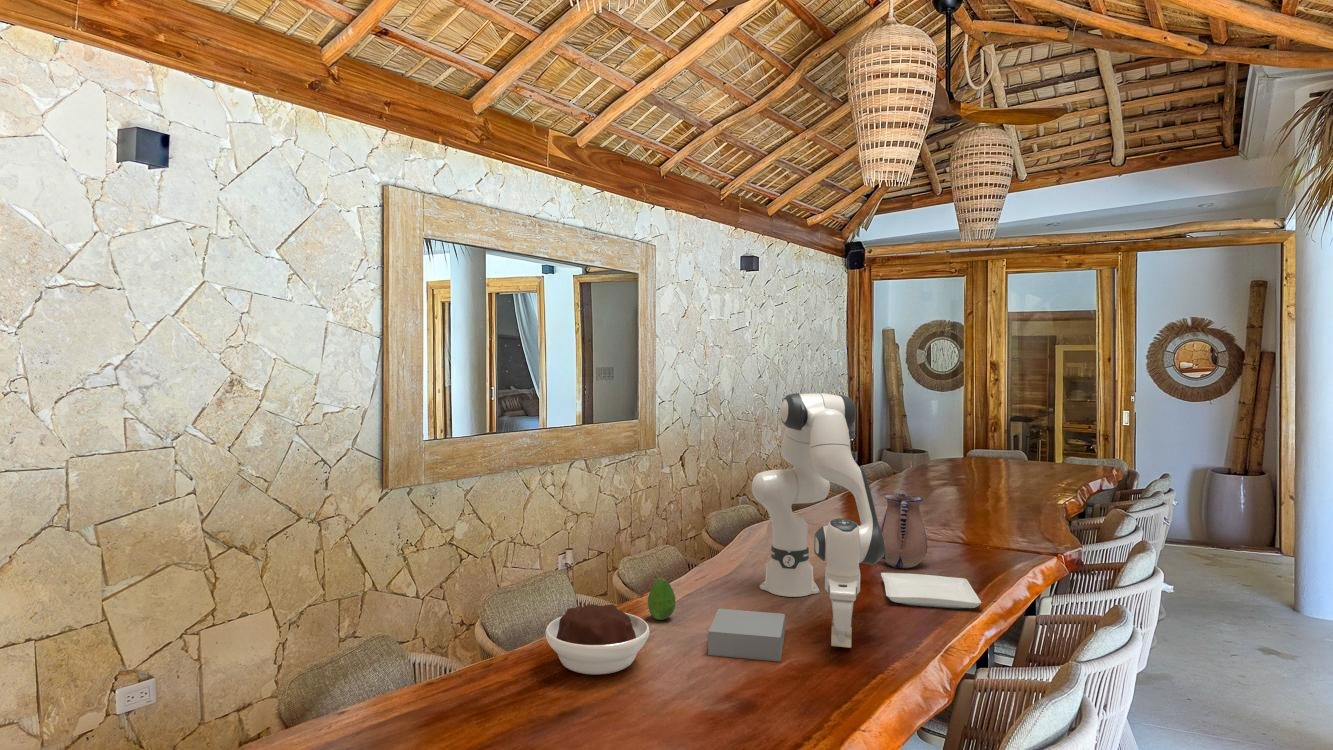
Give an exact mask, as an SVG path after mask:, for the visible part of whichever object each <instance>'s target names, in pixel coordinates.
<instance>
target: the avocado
mask: <svg viewBox="0 0 1333 750" xmlns="http://www.w3.org/2000/svg"><path fill="white" fill-rule="evenodd" d="M647 607H648V611H649V614H650V615H651V617H653V618H654V619H655V620H656V621H657V620H658V621H664V620H667V619H668V618H670V617H671V616H672V615H673V613H674V610H675V609H676V595H675V592H674V589H673V588H672V585H671V583H670V582H669V581H668V580H667V579H666V578H664V577H659V578H657V579H656V580H655V581H654V582H653V584H652V585H651V588H650V591H649V594H648V597H647Z"/></svg>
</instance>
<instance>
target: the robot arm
mask: <svg viewBox="0 0 1333 750" xmlns="http://www.w3.org/2000/svg"><path fill="white" fill-rule="evenodd" d="M856 409H857V407H856V404H855V402H854V401H853V399H852V398H851V397H849V396H846V395H843V394H839V395H836V394H832V393H822V392H819V393H798V392H796V393H790V394H787V395H785V397H784V398H783V399H782V401H781V405H780V411H779V412H780V418H781V422H782V424H783V425H784V426H785V428H784V432H783V437H782V443H781V447H780V452H781V456H782V458H783V460H785V461H786V462H787V463H788V464H790V465H791V466H793V467H792V468H788V469H769V470H765V471H761V472H758V473H757V474H756V475H755V476H754V477H753V479H752V482H751V492H752V495H753V497H754V499H755V500H756V501H757V502H758V503H759V504H760V505H762V506H763V507H764V508H765V510H766V511H767V513H768V515H769V518H770V520H771V527H772V545H771V547H770V557H771V558H770V560H769V561H768V562H767V563H766V564H765V565H766V566H765V580H764V581H763V582H761V584H759V589H760V590H763V591H766V592H768V593H771V594H773V595H776V596H780V597H781V596H782V597H790V598H792V597H793V598H797V597H806V596H808V595H809V596H810V595H813V594H819V593H820V589H819V587H818V585H817V583H816V582H815V580H814V579H815V577H814V566H812V563H811V562H810V561H809V558H810V549H809V547H808V540H809V539H808V538H809V533H808V531H809V526H808V523H807V521H806V520H805V519H804V518H803V517H802V516H800V515H799V514H796V513H794V512H793V509H792V505H794V504H795V505H796V504H797V505H799V504H814V503H817V502H820V501H824V500H825V499H827V497H828V496H829V493H830V492H831V491H830V490H831V483H833V484H835V485H838V486H841V487H843V488H845V489H846V490H848V491H849V492H850V493H851V494H852V495H853V497H854V499H855V500H854V501H855V503H856V504H855V505H856V508H857V512H858V516H859V521H860V525H858V523H857V522H855V521H853V520H851V519H848V518H842V517H841V518H833V519H831V520H830V521H829V522H828V524H827V525H824V526H821V527H819V529H817V531H815V533H814V544H813V545H814V549H813V552H814V554H815V555H816V556H817V558H819V559H820V560H822V561H823V562H826V565H825V566H826V567H825V570H824V571H825V572H824V590H825V591H826V592H827V594H828V597H829V599H830V601H831V607H832V608H831V609H832V620H833V621H834V628H835V630H836V631H838V641H839V642H845V633H846V632H848V631H849V630H850V625H851V624H852V619H853V618H852V617H853V611H854V602H855V601H856V600H857V596H858V594H859V593H860V592H861V570H860V564H866V565H875V564H876V563H878V562H879V561H881V559H882V557H883V555H884V554H885V542H884V538H883V535H882V532H881V529H880V527H881V525H880V523H879V520H878V515H877V511H876V507H875V503H874V499H873V496H872V491H871V487H870V483H869V481H868V477H867V473H866V472H865V470H864V468H863V467H861V466H859V465H858V464H857V462H856V461H855V459H854V457H853V454H852V450H851V437H850V432H849V431H850V430H849V429H851V427H852V426H853V425H854V424H855V421H856V418H857V417H856V416H857V410H856Z"/></svg>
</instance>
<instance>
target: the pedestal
mask: <svg viewBox="0 0 1333 750" xmlns="http://www.w3.org/2000/svg"><path fill="white" fill-rule="evenodd" d="M785 628H786V613H778V612H777V613H776V612H765V611H764V612H763V611H752V610H739V609H730V608H729V609H726V608H718V609H717V611H716V614H715V616H714V618H713V620H712V622H711V625H710V626H709V629H708V632H707V633H708V634H707V637H708V639H707V641H708V642H707V649H708V650H707V655H708V656H716V657H726V658H727V657H728V658H737V659H738V658H739V659H750V660H760V661H769V662H771V661H772V662H781V660H782V659H781V658H782V655H783V647H784V642H785V637H786V635H785V634H786V633H785V631H786V629H785Z"/></svg>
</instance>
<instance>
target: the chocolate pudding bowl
mask: <svg viewBox="0 0 1333 750" xmlns="http://www.w3.org/2000/svg"><path fill="white" fill-rule="evenodd" d="M649 636H650V627H649V624H648V622H646V621H645V620H644V619H643V618H641V617H639V616H638V615H637V616H636V615H635V614H631V613H627V612H625V611H622V610H620V609H618V608H617V606H616V605H615V604H605V605H598V604H587V605H584V606H576V607H571V608H568V609H566V611H565V614H563V615H562V616H559V617H557V618H555V619H554V620H552V621H551V622H550V623H549V624H547V626H546V629H545V638H546V641H547V642H548V643H547V644H549V646H550V648H551V649H552V650H553V651H554V652H555V653H556V654H557V656H558V659H559V660H560V662H561V664H562V666H564V668H566V669H568V670H570V671H573V672H575V673H578V674H583V675H593V676H594V675H598V676H599V675H608V674H612V673H613V674H614V673H616V672H619V671H622V670H625V669H626V668H628V667H629V666H631V665H632V664H633V663H634V661H635V659H636V657H637V655H638V652H639V651H640V650H641V649H642V648H643V646H644V645H645V644H646V643H647V641H648V638H649Z"/></svg>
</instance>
